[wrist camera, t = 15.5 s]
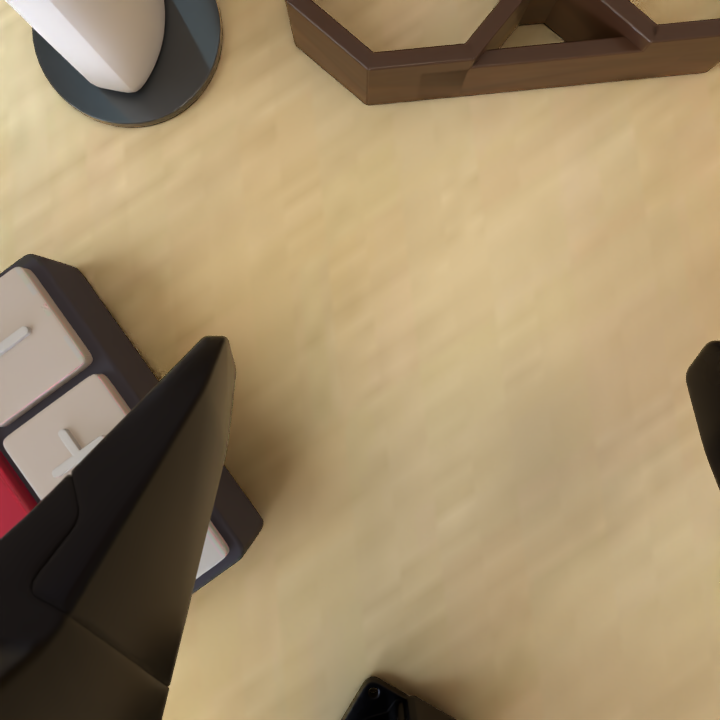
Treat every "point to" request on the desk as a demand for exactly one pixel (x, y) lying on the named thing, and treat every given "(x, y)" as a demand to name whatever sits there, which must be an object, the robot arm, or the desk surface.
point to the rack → (512, 51)
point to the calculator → (79, 399)
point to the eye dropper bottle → (101, 36)
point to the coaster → (167, 80)
